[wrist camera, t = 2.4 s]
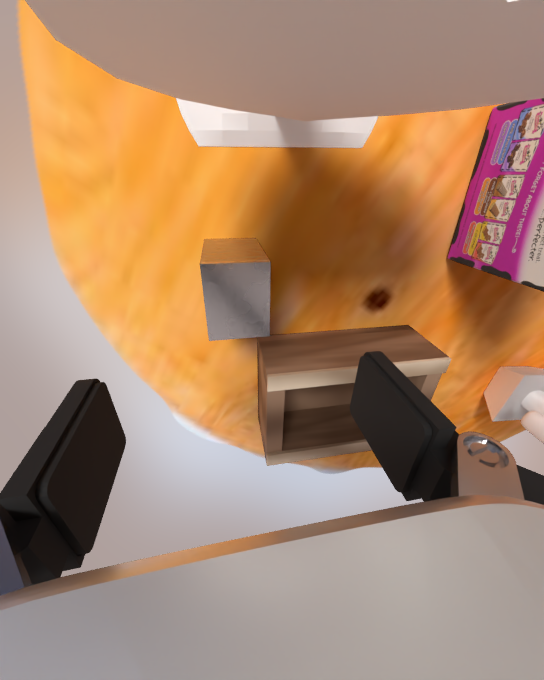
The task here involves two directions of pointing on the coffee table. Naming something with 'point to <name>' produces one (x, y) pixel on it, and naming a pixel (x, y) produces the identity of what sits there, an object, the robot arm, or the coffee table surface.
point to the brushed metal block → (236, 288)
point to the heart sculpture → (308, 60)
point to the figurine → (518, 397)
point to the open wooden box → (329, 386)
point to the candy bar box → (506, 198)
